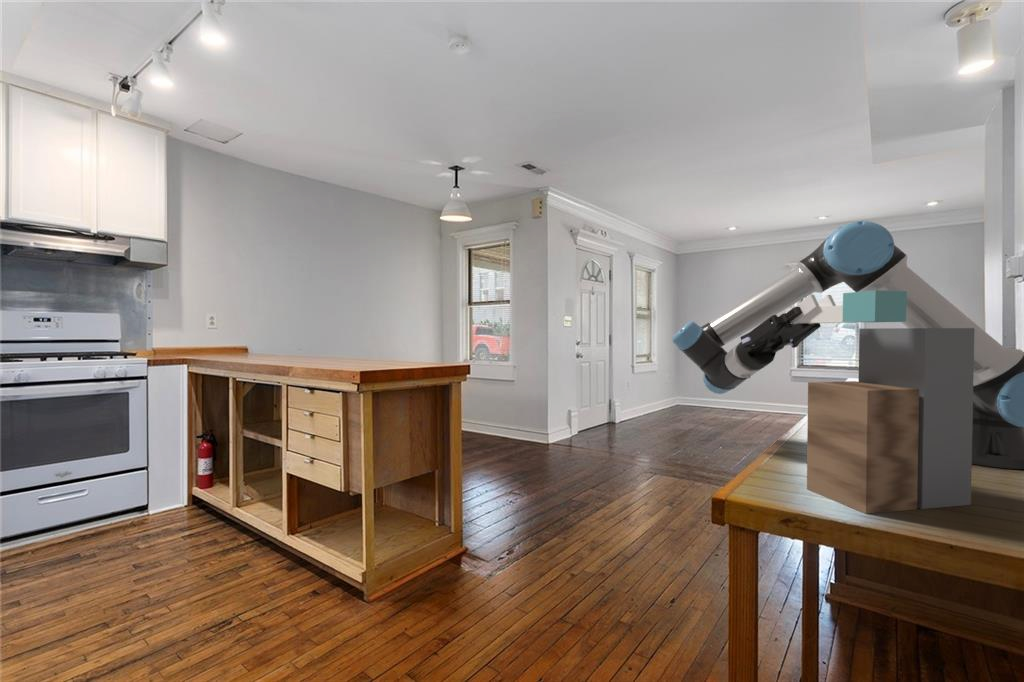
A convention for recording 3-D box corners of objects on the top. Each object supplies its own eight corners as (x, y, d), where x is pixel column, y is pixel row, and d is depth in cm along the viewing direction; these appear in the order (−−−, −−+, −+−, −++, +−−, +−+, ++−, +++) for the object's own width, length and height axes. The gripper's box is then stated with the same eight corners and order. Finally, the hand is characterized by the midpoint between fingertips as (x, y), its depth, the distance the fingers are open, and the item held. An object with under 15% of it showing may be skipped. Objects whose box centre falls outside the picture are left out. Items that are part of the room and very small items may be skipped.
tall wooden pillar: (852, 485, 90) (854, 381, 89) (917, 509, 78) (919, 389, 77) (806, 489, 88) (808, 382, 87) (865, 513, 76) (867, 390, 76)
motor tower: (900, 482, 92) (903, 328, 91) (970, 504, 80) (974, 328, 79) (857, 485, 90) (859, 328, 89) (922, 508, 78) (925, 328, 77)
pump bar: (804, 323, 97) (805, 299, 97) (905, 321, 77) (906, 291, 77) (778, 323, 96) (779, 298, 96) (874, 321, 76) (875, 290, 76)
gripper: (786, 370, 109) (868, 317, 89) (723, 371, 106) (793, 317, 86) (775, 341, 113) (851, 285, 92) (714, 342, 110) (779, 283, 89)
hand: (823, 300), depth 89 cm, fingers closed on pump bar, 3 cm apart
